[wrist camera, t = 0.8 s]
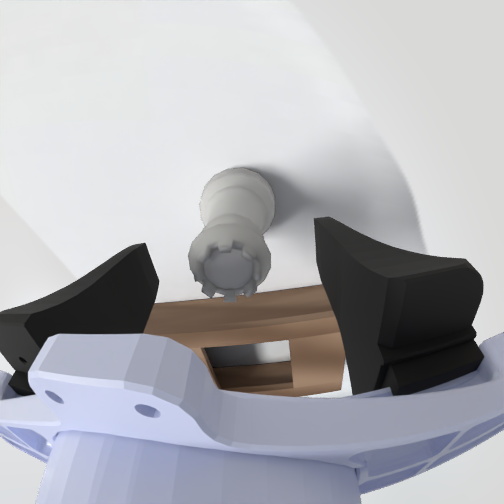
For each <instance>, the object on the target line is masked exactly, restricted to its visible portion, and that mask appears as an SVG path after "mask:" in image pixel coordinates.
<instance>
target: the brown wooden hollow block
mask: <svg viewBox="0 0 504 504" xmlns="http://www.w3.org/2000/svg"><path fill="white" fill-rule="evenodd" d="M143 334H149V335H156V336H162V337H168V338H170V339H172V340H174V341H176V342H178V343H180V344H182V345H184V346H186V347H188V348H190V349H191V350H193V351H194V353H195V354H196V355H197V356H198V357H199V358H200V360H201V361H202V362H203V363H204V364H205V365H206V366H207V369H208V371H209V373H210V375H211V378H212V380H213V382H214V384H215V385H216V386H217V388H218V389H220V390H226V391H234V392H242V393H251V394H261V395H272V396H286V397H300V396H307V395H314V394H321V393H327V392H333V391H338V390H341V386H342V379H343V371H344V364H345V351H344V346H343V342H342V338H341V333H340V329H339V326H338V323H337V320H336V317H335V315H334V312H333V310H332V307H331V304H330V302H329V299H328V297H327V294H326V292H325V289H324V287H323V285H316V286H309V287H302V288H295V289H287V290H280V291H272V292H264V293H255V294H252V295H251V296H250V297H249V298H247V297H246V296H245V295H238V296H237V299H236V302H224V297H220V298H211V299H201V300H191V301H180V302H169V303H157V304H154V305H153V308H152V311H151V314H150V316H149V319H148V321H147V324H146V327H145V329H144V332H143ZM281 340H289V346H290V356H291V361H287V362H278V363H269V364H259V365H248V366H235V367H219V368H212V366H211V363H210V361H209V359H208V356H207V354H206V351H205V349H204V347H219V346H232V345H244V344H254V343H264V342H273V341H281Z"/></svg>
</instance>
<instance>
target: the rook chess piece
mask: <svg viewBox="0 0 504 504" xmlns="http://www.w3.org/2000/svg"><path fill="white" fill-rule="evenodd" d="M199 207H200V216H201V220H202V222H203V224H204V226H205V227H204V228H203V231H202V232H201V233H200V234H199V235H198V236H197V237H196V238H195V239H194V241H193V242H192V244H191V248H190V251H189V254H188V258H189V265H190V270H191V271H192V273H193V274H194V279H195V282H196V281H198V282H200V283H201V284H202V285H203V287H202V292H203V293H204V294H206V295H207V296H209V297H210V298H212V297H213V296H214V294H215V292H216V293H219V294H223V295H224V302H236V299H237V295H240V294H242V293H244V295H245V296H246V297H247V298H249V297H250V296H251V295H252V294H254V293H255V292H256V291H257V286H258V285H260V284H261V283H262V282H263V281H264V280H265V278H266V276H267V274H268V272H269V270H270V268H271V253H270V251H269V249H268V247H267V245H266V243H265V241H264V237H263V234H264V233H265V232H266V231H267V230H268V229H269V227H270V225H271V223H272V220H273V218H274V216H275V196H274V193H273V191H272V189H271V187H270V185H269V183H268V182H267V181H266V180H265V179H264V178H263V177H262V176H260V175H259V174H258V173H256V172H253V171H250V170H248V169H245V168H233V169H226V170H224V171H222V172H220V173H218V174H216V175H214V176H213V177H212V178H211V179H210V181H209V182H208V183H207V184H206V185H205V187H204V190H203V193H202V196H201V200H200V203H199Z"/></svg>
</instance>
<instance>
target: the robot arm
mask: <svg viewBox="0 0 504 504" xmlns="http://www.w3.org/2000/svg"><path fill="white" fill-rule="evenodd" d="M314 225H315V242H316V262H317V266H318V270H319V274H320V278H321V282H322V284H323V287H324V289H325V292H326V294H327V297H328V299H329V302H330V304H331V307H332V310H333V312H334V315H335V317H336V320H337V323H338V326H339V329H340V333H341V338H342V342H343V346H344V351H345V355H346V360H347V365H348V370H349V376H350V381H351V387H352V394H353V396H348V397H342V398H306V397H286V396H272V395H261V394H251V393H242V392H234V391H226V390H220V389H218V388H217V386H216V385H215V384H214V382H213V380H212V378H211V375H210V373H209V371H208V369H207V366H206V365H205V364H204V363H203V362H202V361H201V360H200V358H199V357H198V356H197V355H196V354H195V353H194V351H193V350H191V349H190V348H188V347H186V346H184V345H182V344H180V343H178V342H176V341H174V340H172V339H170V338H168V337H162V336H156V335H149V334H143V332H144V329H145V327H146V324H147V321H148V319H149V316H150V314H151V311H152V308H153V305H154V303H155V300H156V295H157V291H158V286H159V279H158V276H157V274H156V271H155V268H154V266H153V263H152V260H151V257H150V255H149V252H148V249H147V246H146V243H141V244H135V245H132V246H129V247H127V248H126V249H124V250H122V251H121V252H119V253H117V254H116V255H114V256H113V257H111V258H110V259H109V260H107V261H106V262H104V263H103V264H101V265H100V266H98V267H97V268H95V269H94V270H92V271H91V272H89V273H88V274H86V275H85V276H83V277H82V278H80V279H78V280H77V281H75V282H73V283H72V284H70V285H68V286H66V287H64V288H62V289H60V290H58V291H56V292H54V293H52V294H50V295H48V296H46V297H43V298H41V299H38V300H36V301H33V302H30V303H28V304H25V305H22V306H18V307H15V308H11V309H8V310H4V311H2V312H0V352H1V353H2V355H3V356H4V357H5V358H6V360H7V361H8V362H9V364H10V365H11V366H12V367H13V368H14V369H15V370H16V371H15V373H14V374H13V376H12V375H10V374H9V373H7V372H4V371H1V370H0V437H2V438H3V439H4V440H5V441H7V442H8V443H9V444H10V445H12V446H14V447H16V448H18V449H20V450H21V451H23V452H25V453H27V454H29V455H31V456H33V457H35V458H37V459H39V460H41V461H43V462H45V463H47V465H46V468H45V471H44V475H43V478H42V481H41V485H40V488H39V492H38V495H37V499H36V503H35V504H361V498H360V495H361V494H365V493H368V492H371V491H375V490H378V489H381V488H384V487H387V486H390V485H393V484H395V483H398V482H401V481H403V480H406V479H408V478H411V477H414V476H416V475H418V474H421V473H423V472H425V471H428V470H430V469H432V468H434V467H437V466H439V465H441V464H443V463H445V462H447V461H449V460H450V459H453V458H455V457H457V456H459V455H461V454H462V453H464V452H466V451H468V450H470V449H472V448H473V447H475V446H477V445H479V444H480V443H482V442H484V441H486V440H488V439H489V438H491V437H493V436H494V435H496V434H498V433H499V432H501V431H502V430H504V332H503V333H501V334H498V335H496V336H494V337H491V338H489V339H487V340H485V341H483V343H482V344H480V345H479V347H478V345H477V344H476V342H475V341H474V338H475V337H476V331H475V329H474V328H473V326H472V323H473V320H474V318H475V315H476V313H477V310H478V307H479V305H480V302H481V298H482V295H483V280H482V277H481V275H480V274H479V273H478V271H477V270H476V269H475V268H474V267H473V266H472V265H471V264H470V263H469V262H468V261H467V260H466V259H462V258H447V257H437V256H430V255H424V254H419V253H414V252H410V251H406V250H402V249H399V248H395V247H392V246H389V245H387V244H384V243H381V242H378V241H376V240H374V239H372V238H369V237H367V236H365V235H363V234H361V233H359V232H357V231H355V230H353V229H351V228H349V227H348V226H346V225H344V224H342V223H340V222H339V221H337V220H335V219H333V218H331V217H323V218H314Z"/></svg>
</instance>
